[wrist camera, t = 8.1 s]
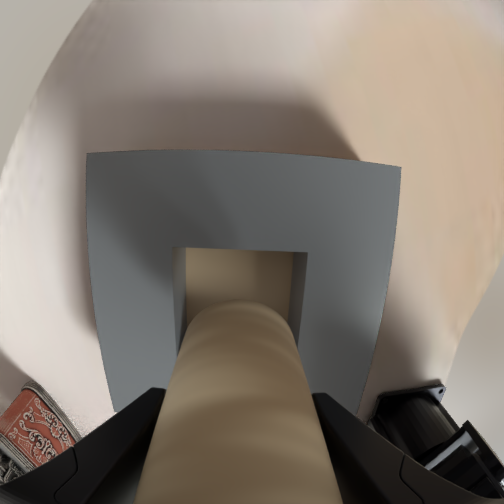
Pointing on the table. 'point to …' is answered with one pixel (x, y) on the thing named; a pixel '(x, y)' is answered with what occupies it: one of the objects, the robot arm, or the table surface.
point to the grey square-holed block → (238, 256)
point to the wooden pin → (238, 418)
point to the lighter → (32, 432)
